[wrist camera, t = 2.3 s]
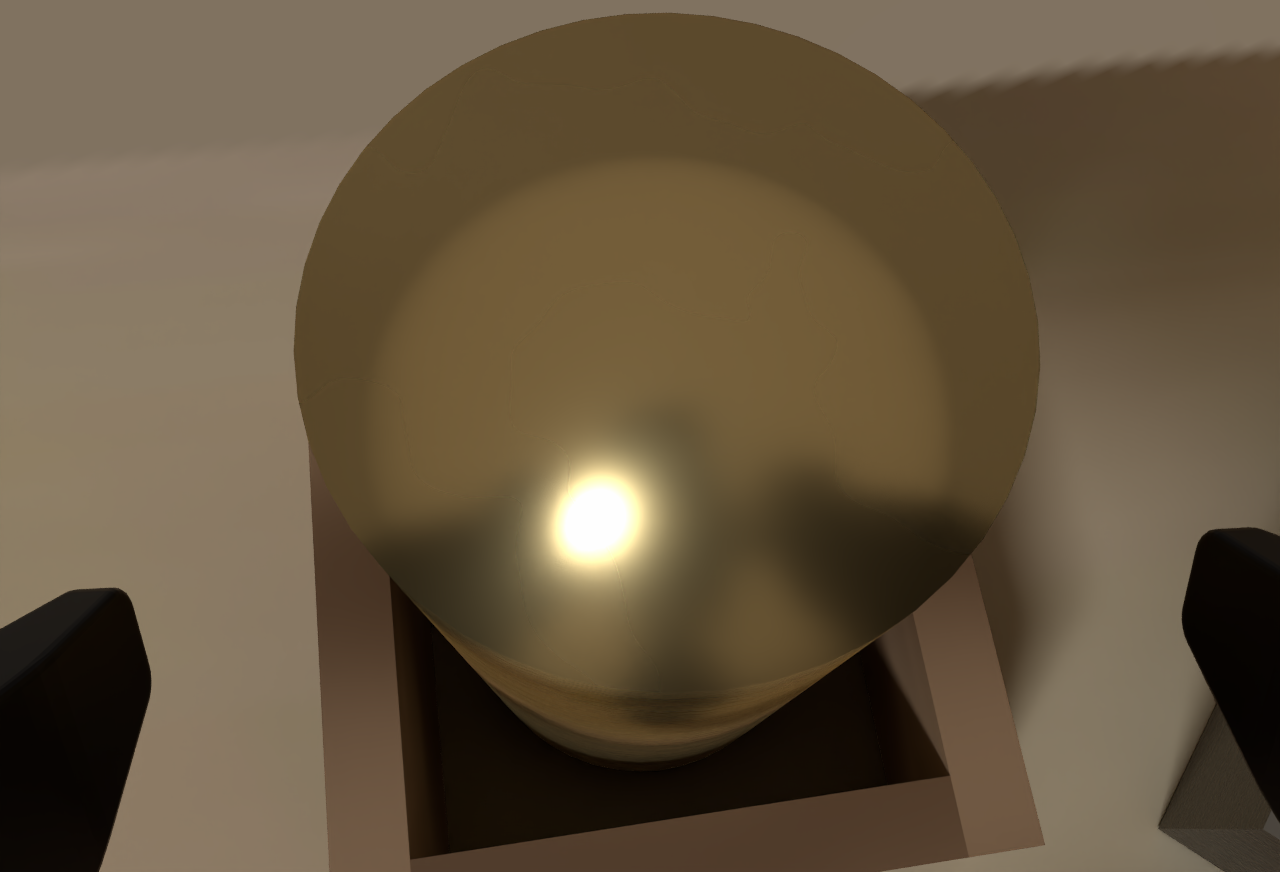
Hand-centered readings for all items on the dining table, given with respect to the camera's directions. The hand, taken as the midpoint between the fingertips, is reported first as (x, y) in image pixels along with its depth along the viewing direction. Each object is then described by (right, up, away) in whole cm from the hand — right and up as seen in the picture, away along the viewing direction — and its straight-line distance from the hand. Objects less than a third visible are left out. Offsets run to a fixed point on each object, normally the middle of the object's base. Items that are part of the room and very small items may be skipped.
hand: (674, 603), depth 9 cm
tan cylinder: (0, -1, +9) cm, 9 cm away
